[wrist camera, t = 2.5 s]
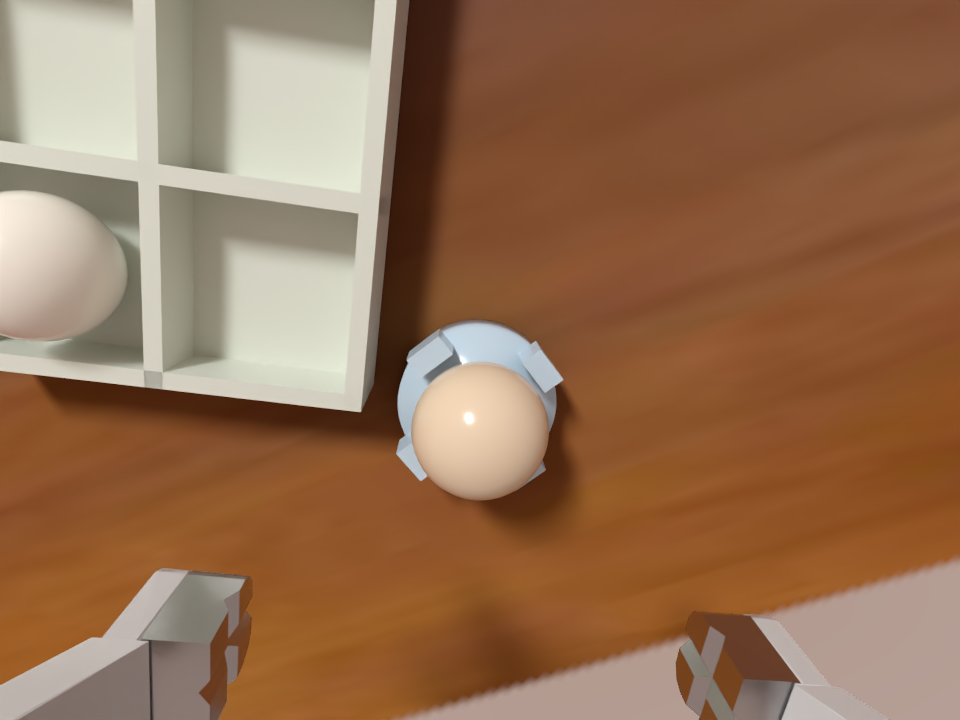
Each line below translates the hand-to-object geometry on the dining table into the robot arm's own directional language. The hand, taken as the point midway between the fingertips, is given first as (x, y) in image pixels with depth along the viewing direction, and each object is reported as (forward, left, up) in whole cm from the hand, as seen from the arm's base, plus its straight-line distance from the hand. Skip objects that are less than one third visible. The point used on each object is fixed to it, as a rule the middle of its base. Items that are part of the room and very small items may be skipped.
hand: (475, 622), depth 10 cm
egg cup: (0, 0, -12) cm, 12 cm away
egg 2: (0, 0, -11) cm, 11 cm away
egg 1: (+14, -4, -12) cm, 18 cm away
